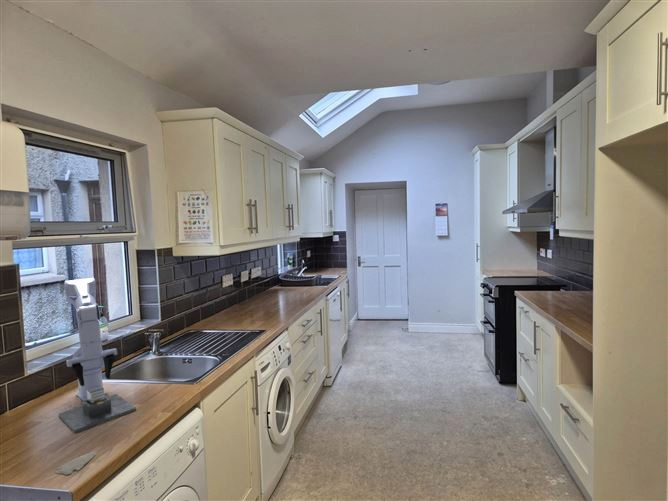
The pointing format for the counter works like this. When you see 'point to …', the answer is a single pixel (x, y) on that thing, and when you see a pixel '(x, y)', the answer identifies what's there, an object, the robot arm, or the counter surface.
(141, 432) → the counter surface
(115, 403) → the stand base
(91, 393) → the column
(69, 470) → the arrowhead
